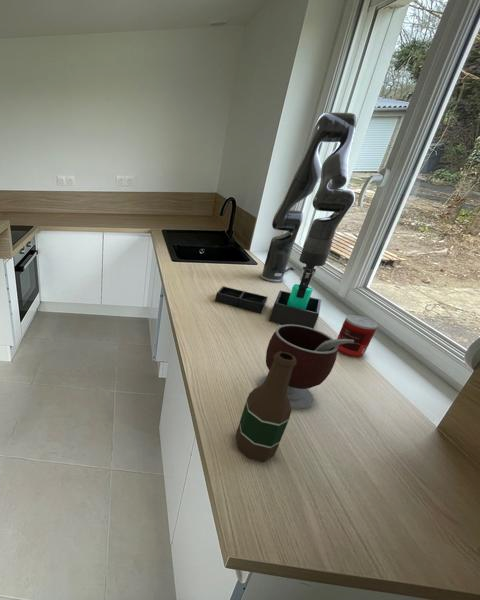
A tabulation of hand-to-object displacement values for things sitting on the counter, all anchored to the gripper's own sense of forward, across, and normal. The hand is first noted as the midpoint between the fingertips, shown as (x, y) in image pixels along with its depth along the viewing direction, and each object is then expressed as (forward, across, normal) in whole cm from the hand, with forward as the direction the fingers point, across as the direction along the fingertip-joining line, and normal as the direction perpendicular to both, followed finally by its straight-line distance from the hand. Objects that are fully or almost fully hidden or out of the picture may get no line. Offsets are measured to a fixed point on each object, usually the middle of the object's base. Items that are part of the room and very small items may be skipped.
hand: (300, 294), depth 117 cm
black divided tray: (+10, +2, +19) cm, 22 cm away
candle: (+8, 0, 0) cm, 8 cm away
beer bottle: (+11, -72, 0) cm, 73 cm away
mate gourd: (+11, -48, -4) cm, 49 cm away
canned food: (+11, -13, -17) cm, 24 cm away
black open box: (+10, 0, 0) cm, 10 cm away
